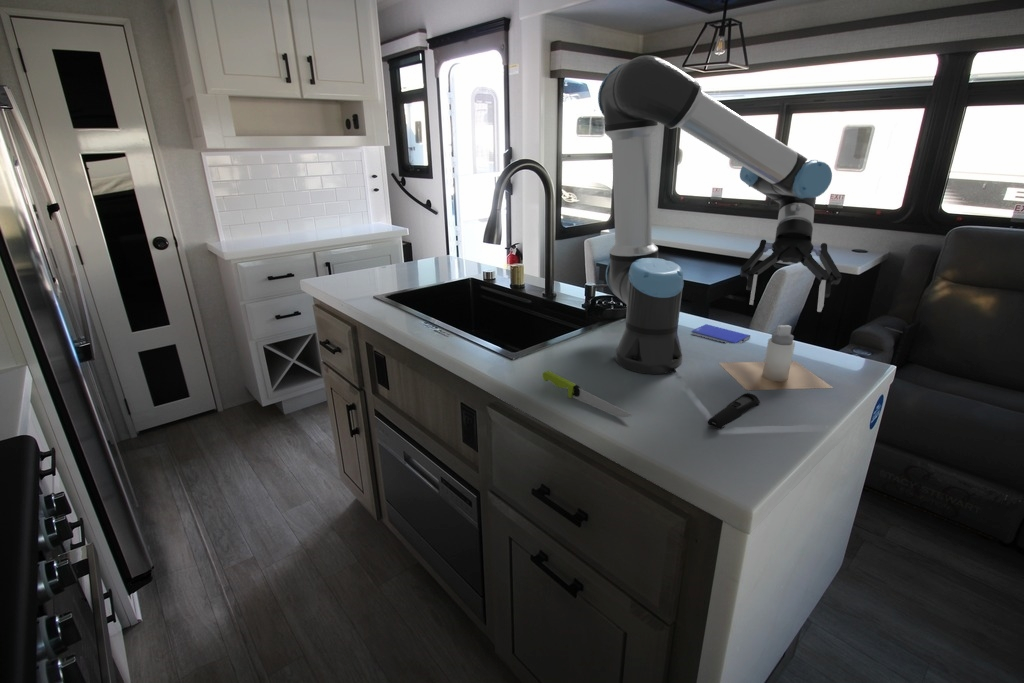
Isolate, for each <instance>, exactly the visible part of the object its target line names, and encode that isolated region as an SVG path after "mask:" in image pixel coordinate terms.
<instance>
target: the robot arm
mask: <svg viewBox="0 0 1024 683" xmlns="http://www.w3.org/2000/svg"><path fill="white" fill-rule="evenodd" d="M597 100H598V102H597V103H598V107H599V110H600V112H601V114H602V115H603V119H604V120H603V123H604V134H606V135H607V137H608V138H610V140H611V150H612V151H611V152H612V154H611V155H612V158H611V159H612V182H613V184H612V185H613V186H612V187H613V209H614V211H613V212H614V213H613V214H614V216H613V217H614V240H615V243H614V245H613V246H612V248H610V250H609V262H608V264H607V266H606V269H605V281H606V284H607V286H608V288H609V289H610V291H611V293H612V294H613V295H614V296H615V297H617V298H618V299H619V300H620V301H622V303H624V304H625V305H626V316H625V328H624V330H623V334H622V336H621V338H620V340H619V343H618V345H617V347H616V349H615V350H616V351H615V362H616V363H617V364H618V365H619V366H621V367H623V368H624V369H627V370H629V371H633V372H636V373H642V374H649V375H661V374H662V375H663V374H668V373H673V372H676V371H677V370H676V369H677V368H678V367H679V366H681V365H682V363H683V352H682V348H681V343H680V340H679V334H678V328H679V319H680V311H681V303H682V295H683V288H684V285H685V283H684V282H685V281H684V271H683V269H682V267H681V266H680V265H679V264H678V263H676V262H674V261H671V260H666V259H663V258H659V247H658V246H657V245H656V244H655V243H654V242H653V240H652V165H651V164H652V160H651V159H652V157H651V156H652V153H651V152H652V151H651V149H652V148H651V147H652V146H651V144H652V143H651V142H652V141H651V140H652V139H651V138H652V137H651V136H652V134H653V133H654V132H655V130H657V128H658V123H659V124H660V125H663V126H665V127H666V128H668V129H671V130H672V129H675V128H679V129H681V130H682V131H684V132H686V133H687V134H689V135H690V136H692V137H694V138H695V139H697V140H699V141H700V142H702V143H703V144H705V145H707V146H709V147H711V148H712V149H714V150H715V151H717V152H719V153H720V154H722V155H723V156H725V157H727V158H728V159H730V160H732V161H734V162H735V163H737V164H738V165H740V166H741V168H740V171H739V178H740V180H741V181H742V182H743V183H744V184H746V185H747V186H748V187H749V188H752V189H754V190H756V191H758V192H759V193H760V194H762V195H765V196H766V197H768V198H770V199H771V200H772V201H774V202H776V203H778V204H779V205H778V206H779V209H778V214H777V215H778V216H777V223H776V232H775V238H774V242H767V240H766V239H761V240H760V242H759V246H758V247H757V249H756V250H754V252H753V254H752V255H751V256H750V257H748V259H747V260H746V262H745V263H743V264H742V266H741V268H740V274H739V275H740V277H743V278H744V277H745V278H746V279H747V281H746V291H751V292H750V298H749V305H751V306H754V300H755V294H756V287H757V282H758V276H759V275H760V274H762V273H764V271H766V270H768V269H769V268H771V266H773V265H775V264H777V263H778V262H780V261H781V262H782V263H792V264H798V263H801V264H802V265H803V266H804V267H806V268H807V269H808V270H809V271H810V272H811V273H812V274H813V275H814V276H815V278H816V279H817V280H818V281H819V282H820V284H819V286H818V287H819V288H818V296H817V297H818V299H817V309H816V311H817V312H818V313H822V310H823V308H824V306H825V304H824V303H825V298H827V299H828V298H829V297H830V295H831V290H832V285H839V284H840V282H841V280H842V277H843V276H842V273H841V272H840V270H839V269H838V267H837V265H836V263H835V262H834V260H833V259H832V257H831V255H830V253H829V251H828V244H827V243H826V242H822V243H821V244H820V245H813V243H812V239H813V231H814V230H813V229H814V228H813V226H814V219H815V209H816V202H817V200H816V199H817V197H820V196H822V195H824V193H825V192H826V191H827V190H828V188H829V186H830V185H831V182H832V180H833V173H832V169H831V167H830V165H829V164H827V163H826V161H825V162H824V161H821V160H818V159H809V158H807V157H805V156H804V155H803V154H801V153H799V152H798V151H795V150H794V149H793V148H791V147H789V146H787V145H786V144H785V143H783V142H782V141H780V140H778V138H775V137H774V136H772V135H770V133H767V132H766V131H765V130H763V129H762V128H760V127H758V126H757V125H755V124H754V123H753V122H750V121H749V120H748V119H746V118H745V117H743V116H741V115H739V114H738V113H737V112H735V111H734V110H732V109H730V108H729V107H727V106H726V105H724V104H723V103H721V102H720V101H718V100H716V99H715V98H714V97H712V96H711V95H709V94H707V93H706V92H704V91H703V90H702V84H701V82H700V81H698V80H697V79H696V78H694V77H692V76H691V75H689V74H687V73H686V72H685V71H683V70H681V69H680V68H679V67H677V66H676V65H674V64H672V63H670V62H669V61H666V60H665V59H663V58H661V57H659V56H655V55H639V56H637V57H635V58H632V59H631V60H629V61H627V62H624V63H621V64H619V65H618V66H616V67H614V68H612V70H611V71H609V72H608V74H607V75H606V76H605V77H604V79H603V80H602V82H601V83H600V86H599V90H598V95H597ZM769 250H771V251H772V253H771V254H770V255H768V256H767V257H766V258H764V259H763V260H762V261H761V262H760V263H758V264H757V265H756V263H757V262H758V261H759V260H760V259H761V257H762V256H763V255H764V253H767V252H768V251H769ZM812 252H813V253H815V255H816V257H818V258H819V260H820V262H821V264H822V265H821V264H820V263H818V261H817V260H815V258H814V257H813V255H812V254H811V253H812ZM823 267H824V268H823Z"/></svg>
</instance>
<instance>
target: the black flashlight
mask: <svg viewBox="0 0 1024 683" xmlns="http://www.w3.org/2000/svg"><path fill="white" fill-rule="evenodd" d="M760 404H761V402H760V400H759V398H758V396H756V395H755V394H752V393H750V392H747V393H743V394H741V395H740V396H739V397H737V398H735V399H734V400H733V401H731V402H730V403H729V404H727V405H726V406H725V408H723V409H722V410H720V411H719V412H717V413H716V414H714V415H712V416H711V417H710V418H709V419H708V421H707V425H708V426H711V427H713V428H716V429H718V430H721V429H723V428H725V426H726V425H728V424H730V423H732V422H734V421H736V420H737V419H740V418H741V417H742V415H743V414H745V412H746V411H747V410H749V409H751V408H752V407H754V406H760Z"/></svg>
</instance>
